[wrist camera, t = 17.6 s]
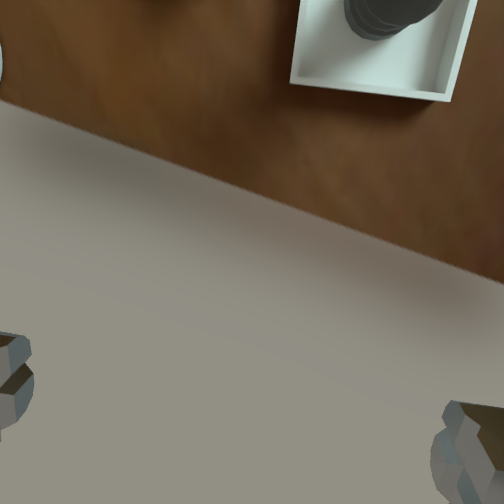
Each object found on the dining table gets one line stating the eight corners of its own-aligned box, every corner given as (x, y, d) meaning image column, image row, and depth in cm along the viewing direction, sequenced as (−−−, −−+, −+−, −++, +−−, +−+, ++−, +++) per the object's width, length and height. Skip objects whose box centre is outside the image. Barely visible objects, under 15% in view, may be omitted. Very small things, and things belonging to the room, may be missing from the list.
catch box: (289, 83, 40) (289, 82, 37) (313, -94, 35) (316, -116, 31) (435, 101, 40) (450, 102, 36) (480, -77, 35) (503, -97, 31)
